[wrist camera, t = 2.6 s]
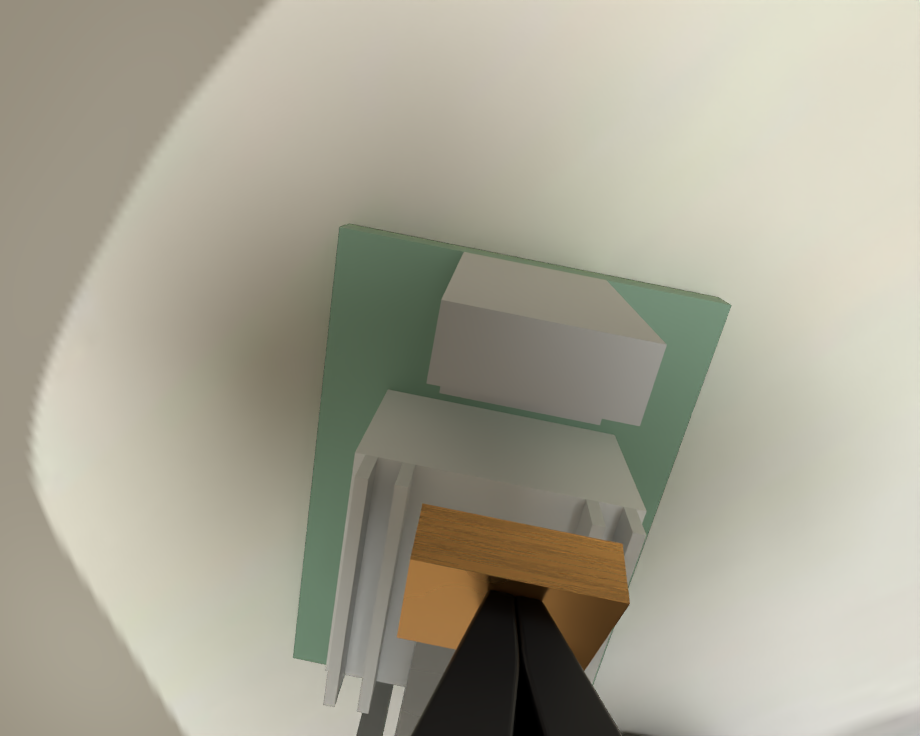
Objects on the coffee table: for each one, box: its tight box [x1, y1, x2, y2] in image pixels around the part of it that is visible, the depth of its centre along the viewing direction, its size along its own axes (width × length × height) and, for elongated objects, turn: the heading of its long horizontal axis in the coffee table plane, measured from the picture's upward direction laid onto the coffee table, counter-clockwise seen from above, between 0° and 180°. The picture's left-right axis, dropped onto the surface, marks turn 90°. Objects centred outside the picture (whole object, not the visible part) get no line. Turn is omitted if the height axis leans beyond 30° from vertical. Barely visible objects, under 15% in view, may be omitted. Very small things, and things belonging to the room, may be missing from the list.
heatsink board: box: [293, 224, 731, 736], centre depth 16 cm, size 16×11×7 cm
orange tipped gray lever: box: [395, 504, 630, 736], centre depth 12 cm, size 12×3×1 cm, turn 170°
